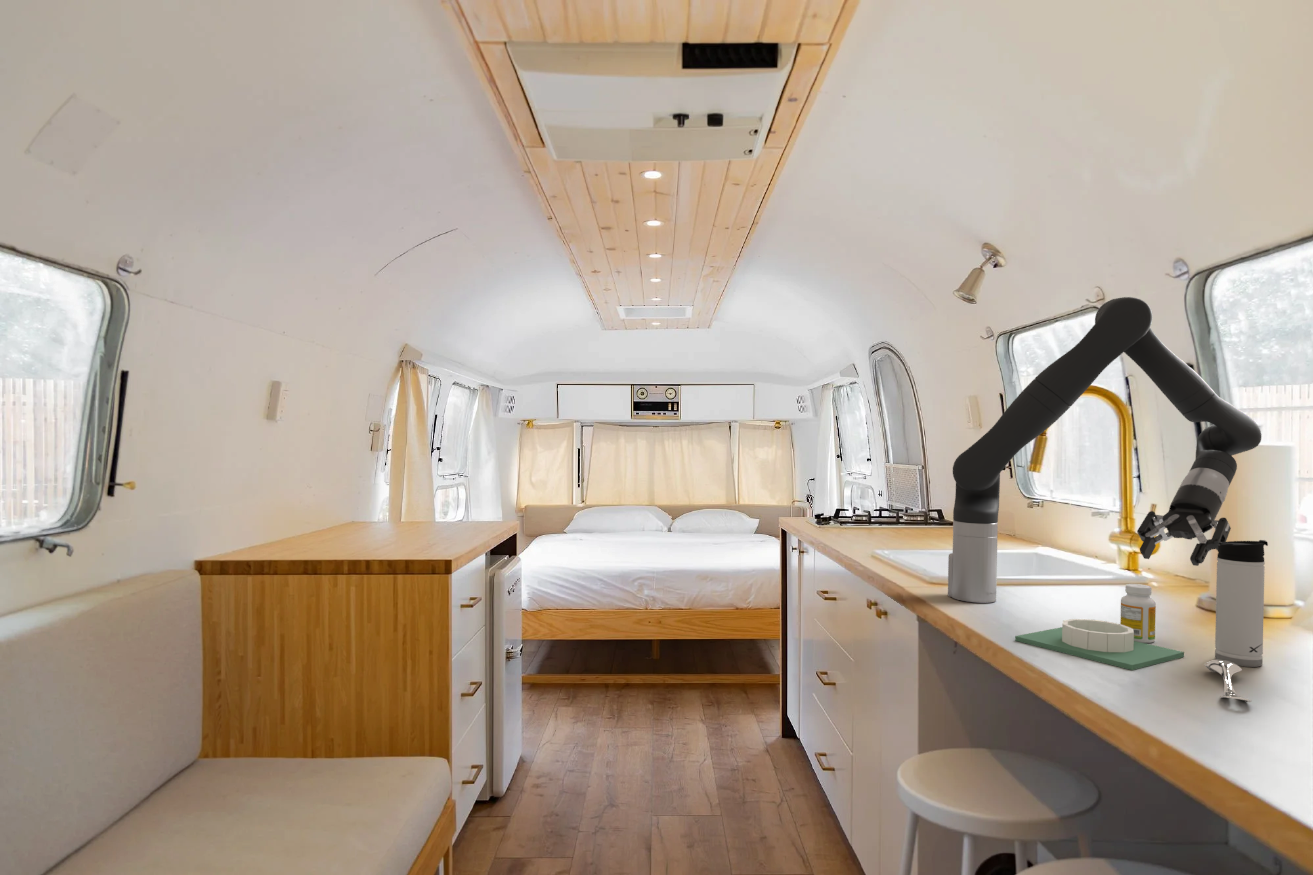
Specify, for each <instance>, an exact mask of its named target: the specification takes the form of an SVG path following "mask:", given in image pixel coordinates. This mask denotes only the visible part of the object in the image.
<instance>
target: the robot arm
mask: <svg viewBox="0 0 1313 875" xmlns="http://www.w3.org/2000/svg"><path fill="white" fill-rule="evenodd" d="M1152 323H1153V311H1152V308H1151V306H1150V305H1149V303H1147V302H1146V301H1145V300H1142V299H1141V298H1137V297H1131V296H1124V297H1117V298H1112V299H1109V300H1108V301H1106V302H1103V303H1102V305H1101V306H1100V307H1099V308H1098V310H1097V311H1096V314H1095V317H1094V325H1092V327H1091V328H1090V329H1089V331H1088V332H1087V333H1086V334H1085V335H1084V337H1083V338H1082V339H1080V340H1079V342H1077V344H1075V345H1074V347H1072V348H1071V349H1070V350H1068V351H1066V353H1064V354H1063V355H1062V356H1060V357H1059V358H1057V359H1056V360H1054V361H1053V362H1052V363H1050V365H1048V366H1047V367H1046V368H1044V369H1043V370H1042V371H1041V372H1039V374H1037V375H1036V377H1034V379H1033V380H1032V381H1031V382H1030V383H1029V384H1028V385H1027V386H1026V387H1025V388H1024V389H1023V390H1022V391H1021V392H1020V393H1019V394H1018V396H1017V397H1016V398H1015V399H1014V400H1013V401H1012V402H1011V403H1010V405H1009V406H1008V407H1007V408H1006V410H1005V411H1004V412H1003V413H1002V414H1001V416H1000V417H999V419H997V421H996V422H995V424H994V425H992V427H990V429H989V430H988V431H987V432H986V433H985V434H984V435H982V436H981V437H980V438H979V439H978V440H977V441H976V442H974V443H973V444H972V445H971V446H970V447H968V448H967V449H966V450H964V451H963V452H962V453H960V454H959V455H958V456H957V458H955V460H954V463H953V465H952V476H953V479H954V481H955V496H954V503H953V504H954V505H953V509H952V510H953V512H952V513H953V514H952V516H953V517H952V520H953V522H952V552H951V553H949V554H948V560H947V561H948V563H947V564H948V567H947V568H948V569H947V571H948V572H947V573H948V574H947V575H948V576H947V597H951V598H952V599H954V600H958V601H962V602H967V603H984V604H985V603H986V604H987V603H988V604H989V603H994V602H996V601H997V581H998V580H997V578H998V532H999V531H998V529H999V528H998V525H999V510H1000V494H1001V493H1000V490H1001V489H1000V487H1001V485H1000V484H1001V472H1002V471H1003V470H1004V469H1005V467H1006V466H1007V465H1008V464H1009V463H1010V461H1011V460H1012V459H1013V458H1014V457H1015V456H1016V455H1017V454H1018V452H1020V451H1021V450H1022V449H1023V448H1024V447H1026V446H1027V445H1028V444H1029V443H1030V442H1032V441H1033V440H1035V439H1036V438H1038V437H1039V436H1040V435H1041V434H1043V433H1044V432H1046V430H1047V429H1049V428H1050V427H1051V426H1052V425H1054V424H1055V423H1056V422H1057V421H1058V420H1059V419H1060V418H1061V417H1062V416H1063V415H1064V414H1065V413H1066V412H1067V411H1068V410H1069V409H1070V408H1071V407H1072V406H1073V405H1074V404H1075V403H1076V402H1077V400H1078V399H1080V397H1081V396H1083V394H1084V393H1085V392H1086V391H1087V390H1088V389H1089V387H1090V386H1091V385H1092V384H1093V383H1094V382H1095V381H1096V380H1097V378H1098V377H1099V376H1100V375H1101V374H1102V372H1103V371H1105V369H1106V368H1107V367H1108V366H1109V365H1111V363H1113V361H1115V360H1116V359H1118V357H1120V355H1122V354H1125V355H1127V356H1128V358H1130V359H1131V360H1132V362H1134V363H1135V364H1136V365H1138V367H1139V368H1140V369H1141V370H1142V371H1143V372H1144V374H1146V375H1147V376H1148V378H1149V379H1150V380H1151V381H1152V382H1153V383H1154V384H1155V386H1156V387H1157V388H1158V389H1159V390H1160V391H1161V393H1162V394H1164V396H1165V397H1166V398H1167V400H1168V401H1169V402H1170V403H1171V404H1172V405H1173V406H1174V407H1175V408H1176V410H1178V412H1179V413H1180V414H1181V415H1182V416H1183V417H1184V418H1185V419H1186V420H1187V421H1188V422H1190V423H1201V422H1206V423H1210V424H1212V425H1209V426H1207V427H1205V428H1203V430H1202V431H1201V433H1200V434H1199V435H1198V437H1197V440H1196V447H1195V448H1196V449H1195V460H1194V461H1193V464H1192V466H1191V467H1190V469H1189V472H1188V473H1187V475H1186V476H1185V477H1184V478H1183V480H1182V482H1181V483H1180V485H1179V487H1178V490H1176V492H1175V495H1174V497H1173V499H1172V501H1171V503H1170V505H1169V507H1168V508H1169V509H1168V511H1167V512H1166V513H1165V514H1163V515H1162V514H1161V515H1160V514H1156V513H1155V511H1154V510H1151V511H1148V513H1147V514H1146V516H1145V517H1144V519H1143V521H1142V522H1141V524H1140V525H1139V527H1138V529H1137V530H1136V533H1137V534H1138V537H1139V538H1140V540H1141V541H1142V544H1141V546H1140V547H1139V551H1140V553H1141V556H1142V557H1143V559H1144V560H1145V559H1146V560H1150V558H1151V556H1152V554H1153V553H1154V551H1155V548H1156V546H1157V544H1159V543H1160V542H1163V541H1164V542H1165V541H1168V540H1170V539H1172V538H1174V539H1185V540H1190V541H1191V540H1193V539H1196V540H1197V542H1198V543H1196V545H1195V547H1194V548H1193V551H1192V553H1191V555H1190V558H1189V559H1190V563H1191V565H1192V566H1195V567H1199V565H1200V564H1203V563H1204V561H1205V559H1206V556H1207V555H1208V553H1209V552H1211V551H1212V550H1216V551H1218V544H1219V543H1221V542H1227V540H1228V538H1229V535H1230V531H1231V529H1232V527H1231V525H1230V523H1229V521H1228V519H1227V517H1221V518H1219V519H1218V520H1217V519H1216V518H1217V515H1218V514H1219V512H1220V510H1221V508H1222V506H1223V503H1224V502H1225V500H1226V497H1227V494H1228V491H1229V487H1230V485H1231V483H1232V481H1233V479H1234V477H1235V475H1236V472H1237V469H1238V464H1237V460H1236V459H1235V458H1234V457H1233V456H1236V455H1238V454H1241V453H1245V452H1249V451H1251V450H1253V449H1256V448H1257V447H1258V446H1259V445H1260V443H1261V442H1262V431H1261V428H1260V426H1259V425H1258V424H1257V423H1256V422H1257V421H1255V419H1253V418H1252V417H1250V415H1248V414H1246V413H1245V412H1244V411H1242V410H1241V409H1239V408H1238V407H1235V406H1234V405H1233V404H1231V403H1230V402H1228V401H1226V400H1225V399H1223V398H1222V397H1219V396H1220V395H1218V394H1217V393H1216V392H1215V391H1214V390H1213V389H1212V387H1211V386H1210V385H1209V384H1208V383H1207V382H1206V381H1205V380H1204V379H1203V378H1202V377H1201V376H1200V375H1199V374H1198V372H1196V371H1195V370H1194V369H1193V368H1192V367H1190V366H1189V365H1188V364H1187V363H1186V362H1184V360H1182V359H1181V358H1180V357H1179V356H1177V355H1176V354H1175V353H1174V352H1173V351H1172V350H1171V349H1169V348H1168V347H1167V346H1166V345H1165V344H1164V343H1163V342H1162V340H1160V338H1159V337H1158V336H1157V335H1156V334H1155V332H1154V331H1153V329H1152V327H1151V325H1152ZM1165 529H1166V530H1167V532H1165ZM1212 529H1214V531H1213V534H1212V537H1211V539H1207V537H1206V535H1205V533H1207V532H1208V531H1210V530H1212Z"/></svg>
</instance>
